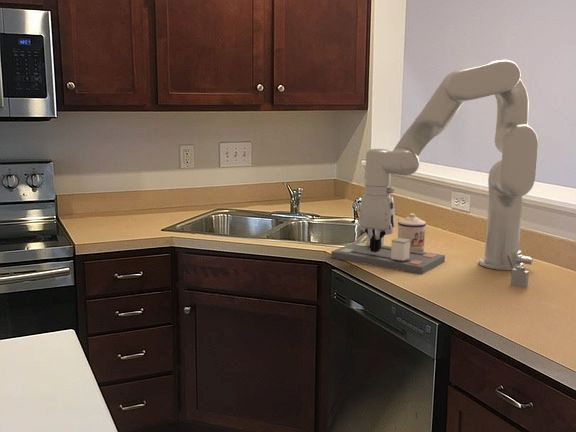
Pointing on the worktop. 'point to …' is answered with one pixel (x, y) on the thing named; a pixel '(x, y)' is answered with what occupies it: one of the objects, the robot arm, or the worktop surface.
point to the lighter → (516, 273)
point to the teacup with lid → (412, 231)
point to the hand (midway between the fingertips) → (375, 251)
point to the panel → (388, 258)
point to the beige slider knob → (400, 249)
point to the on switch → (369, 240)
